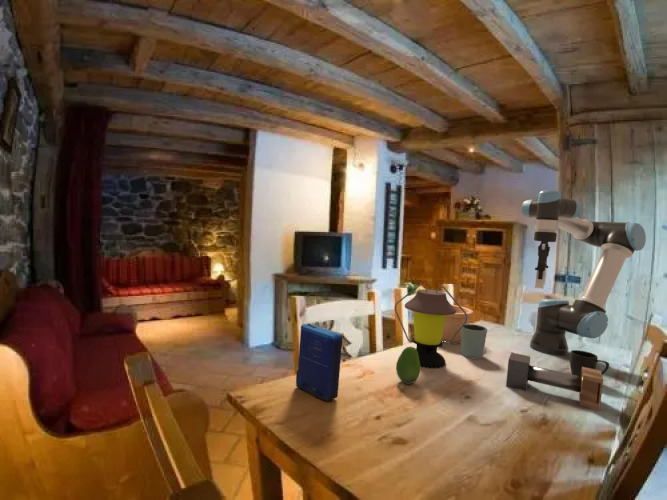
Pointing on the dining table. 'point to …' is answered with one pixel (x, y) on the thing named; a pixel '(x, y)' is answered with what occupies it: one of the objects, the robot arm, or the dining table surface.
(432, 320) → the lantern
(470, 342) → the grey green textured cup
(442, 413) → the dining table surface
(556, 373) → the tube
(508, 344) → the dining table surface
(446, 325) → the pottery
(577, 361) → the mug
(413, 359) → the fruit
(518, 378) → the sleeve
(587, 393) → the socket
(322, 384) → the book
